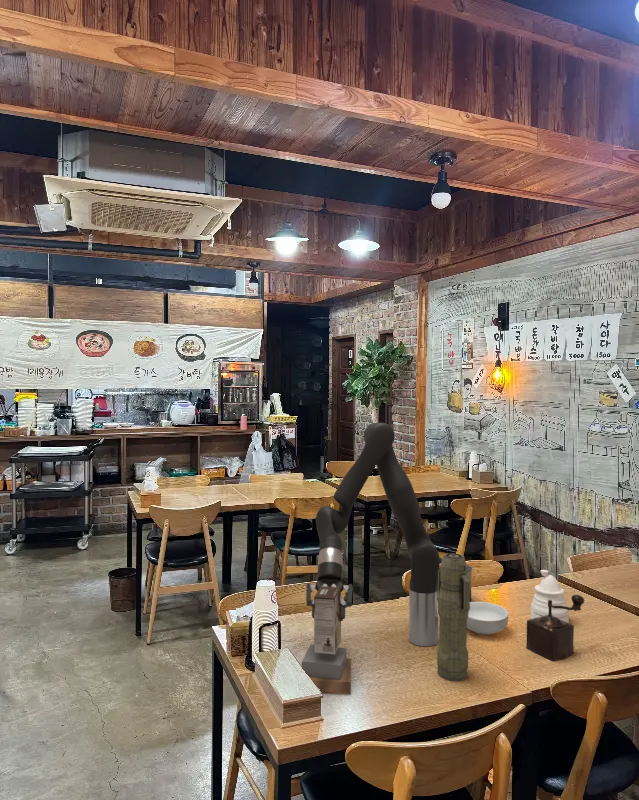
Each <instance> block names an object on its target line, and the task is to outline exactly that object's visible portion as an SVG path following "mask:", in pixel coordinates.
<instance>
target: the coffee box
mask: <svg viewBox="0 0 639 800" xmlns="http://www.w3.org/2000/svg"><path fill="white" fill-rule="evenodd" d="M341 595H342V592H341V587H324V586H320V588H319V590H318V591H317V590H316V593H315V595H314V598H313V600H314V618H313V620H314V622H313V628H314V629H313V633H314V634H313V638H314V639H313V640H314V641H313V645H314V652H315V653H325V654H336V652H337V649H338V647H340V644H341V642H342V621H340V609H341V603H340V601H341Z"/></svg>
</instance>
